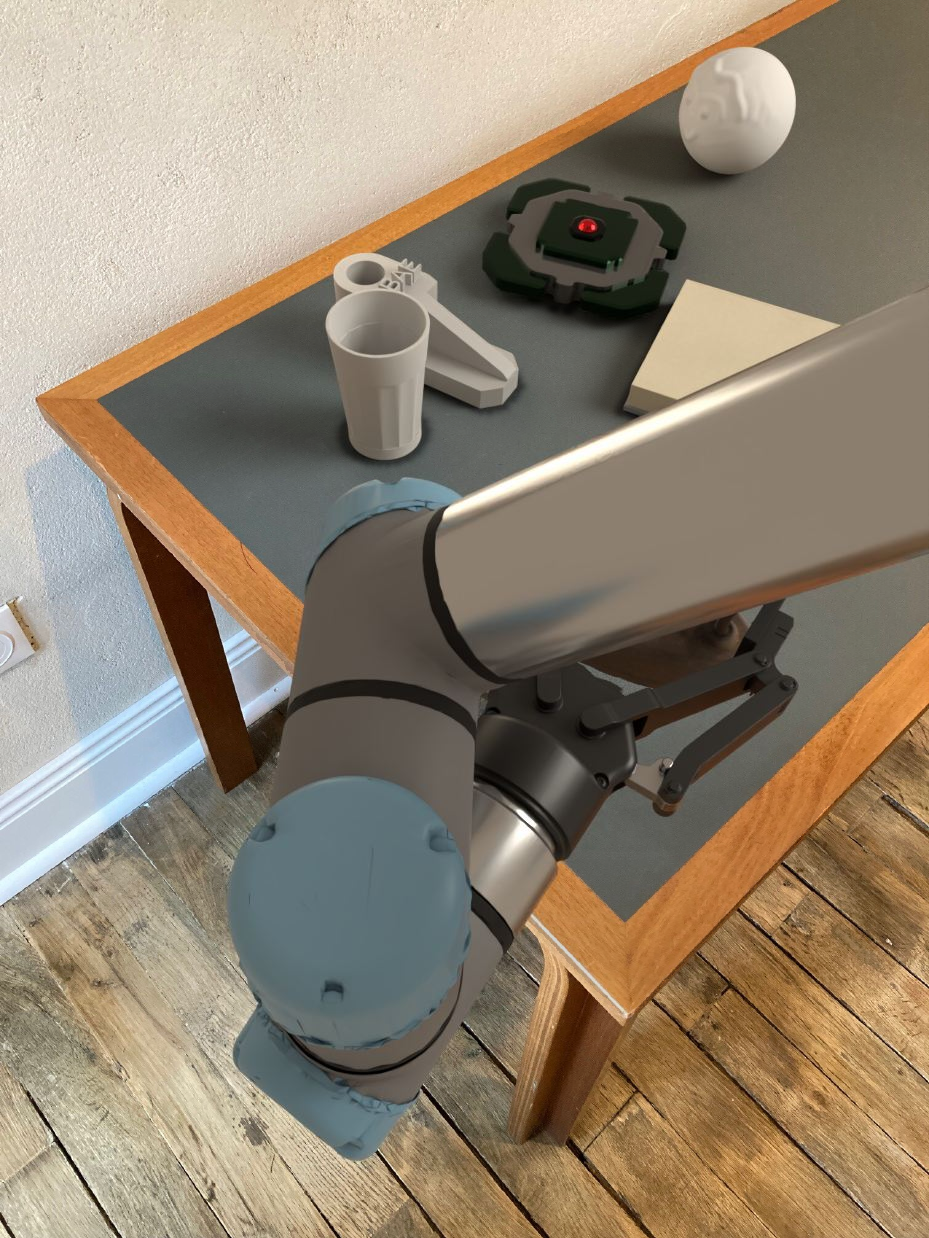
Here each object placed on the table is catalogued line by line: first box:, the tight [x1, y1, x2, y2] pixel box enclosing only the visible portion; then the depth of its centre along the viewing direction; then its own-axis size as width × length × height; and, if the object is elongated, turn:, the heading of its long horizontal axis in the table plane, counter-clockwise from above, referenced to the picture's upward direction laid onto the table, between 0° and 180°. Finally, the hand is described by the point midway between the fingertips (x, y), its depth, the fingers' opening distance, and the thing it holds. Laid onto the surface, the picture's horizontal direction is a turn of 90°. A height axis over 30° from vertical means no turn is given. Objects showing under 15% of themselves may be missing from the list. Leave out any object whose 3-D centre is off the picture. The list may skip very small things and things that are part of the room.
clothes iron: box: [579, 612, 781, 689], centre depth 54 cm, size 14×10×11 cm
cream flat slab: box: [622, 278, 842, 417], centre depth 85 cm, size 18×16×3 cm
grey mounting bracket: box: [332, 252, 519, 409], centre depth 84 cm, size 6×18×8 cm, turn 59°
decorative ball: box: [678, 46, 797, 175], centre depth 100 cm, size 12×12×12 cm
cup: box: [325, 288, 430, 461], centre depth 77 cm, size 8×8×12 cm
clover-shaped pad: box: [481, 177, 687, 321], centre depth 94 cm, size 18×18×5 cm
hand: (703, 528), depth 55 cm, fingers closed on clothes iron, 11 cm apart
